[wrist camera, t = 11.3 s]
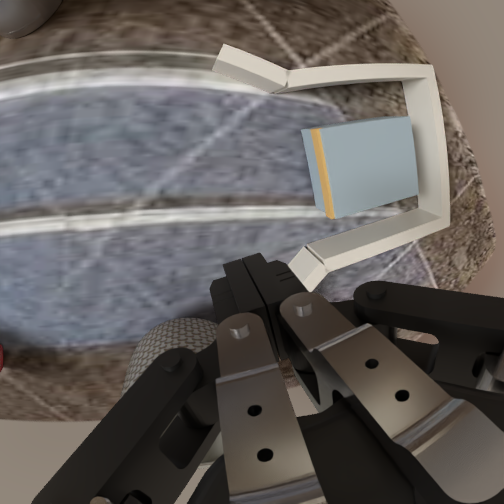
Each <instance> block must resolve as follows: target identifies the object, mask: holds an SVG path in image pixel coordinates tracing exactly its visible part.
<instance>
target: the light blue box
mask: <svg viewBox="0 0 504 504" xmlns="http://www.w3.org/2000/svg"><path fill="white" fill-rule="evenodd" d="M301 132H302V140H303V142H304V146H305V151H306V156H307V161H308V166H309V171H310V176H311V181H312V187H313V196H314V199H315V204H316V208H318V209H320V210H322V211H323V212H325V213H326V216H327V217H329V218H330V219H335V218H336V219H337V218H341V217H344V216H347V215H351V214H354V213H358V212H361V211H364V210H368V209H371V208H374V207H378V206H381V205H385V204H388V203H391V202H395V201H398V200H402V199H405V198H408V197H412V196H415V195H419V189H418V176H417V166H416V156H415V147H414V140H413V132H412V126H411V119H410V116H390V117H377V118H369V119H362V120H355V121H348V122H341V123H335V124H329V125H323V126H318V127H312V128H307V129H302V130H301Z"/></svg>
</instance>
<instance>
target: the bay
mask: <svg viewBox="0 0 504 504" xmlns="http://www.w3.org/2000/svg"><path fill="white" fill-rule="evenodd" d="M212 71H214V72H217V73H220V74H222V75H225V76H228V77H231V78H233V79H236V80H238V81H241V82H243V83H246V84H249V85H251V86H253V87H256V88H258V89H261V90H263V91H265V92H268V93H272V92H274V94H278V93H284V92H290V91H297V90H303V89H310V88H318V87H326V86H334V85H344V84H355V83H368V82H386V81H402V85H403V90H404V95H405V100H406V105H407V111H408V116H410V119H411V126H412V132H413V140H414V147H415V156H416V166H417V176H418V189H419V195H418V208H416V209H413V210H410V211H407V212H404V213H401V214H398V215H395V216H392V217H389V218H386V219H383V220H380V221H377V222H374V223H371V224H368V225H364V226H361V227H358V228H355V229H352V230H349V231H346V232H343V233H340V234H337V235H334V236H330V237H327V238H324V239H321V240H318V241H315V242H312V243H309V244H307V248H308V250H307V249H306V248H305V247H303V248H302V249H301V250H300V251H299V252H298V254H297V255H296V256H295V257H294V258H293V259H292V261H291V262H290V263H289V264H288V266H289V268H290V269H291V270H292V271H293V273H294V274H295V275H296V276H297V277H298V279H299V280H300V281H301V282H302V284H303V285H304V286H305V287H306V289H307V290H308V291H309V292H312V291H313V289H314V288H315V287H316V286H317V285H318V284H319V283H320V282H321V280H322V279H323V278H324V277H325V276H326V275H327V274H328V272H331V271H333V270H336V269H339V268H342V267H345V266H347V265H350V264H353V263H356V262H358V261H361V260H364V259H367V258H369V257H372V256H375V255H377V254H380V253H383V252H385V251H388V250H390V249H393V248H396V247H398V246H401V245H403V244H406V243H409V242H411V241H414V240H416V239H419V238H421V237H424V236H426V235H429V234H431V233H434V232H436V231H439V230H441V229H444V228H446V227H449V226H450V189H449V171H448V158H447V147H446V138H445V130H444V122H443V116H442V109H441V103H440V98H439V92H438V87H437V82H436V77H435V73H434V68H433V65H425V64H352V65H336V66H324V67H314V68H304V69H296V70H286V69H284V68H282V67H280V66H278V65H275V64H273V63H271V62H269V61H266V60H264V59H262V58H259V57H257V56H254V55H252V54H249V53H247V52H244V51H242V50H239V49H237V48H234V47H231V46H229V45H226V44H223V47H222V49H221V51H220V53H219V55H218V57H217V59H216V62H215V64H214V66H213V69H212Z"/></svg>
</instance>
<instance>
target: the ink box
mask: <svg viewBox="0 0 504 504" xmlns="http://www.w3.org/2000/svg"><path fill="white" fill-rule="evenodd" d="M2 368H3V347H2V345H0V372H1V370H2Z"/></svg>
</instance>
